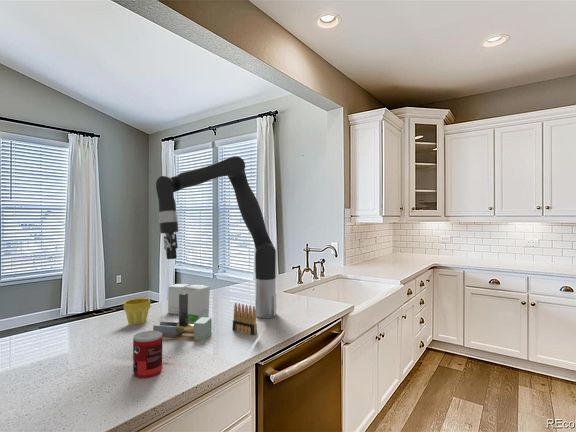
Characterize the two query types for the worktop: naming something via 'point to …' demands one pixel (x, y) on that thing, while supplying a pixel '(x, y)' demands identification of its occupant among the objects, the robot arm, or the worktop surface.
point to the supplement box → (175, 297)
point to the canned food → (147, 354)
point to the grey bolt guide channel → (167, 329)
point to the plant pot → (137, 310)
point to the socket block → (202, 328)
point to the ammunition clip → (245, 319)
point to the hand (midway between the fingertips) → (171, 259)
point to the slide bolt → (184, 315)
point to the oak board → (183, 338)
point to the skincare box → (198, 302)
